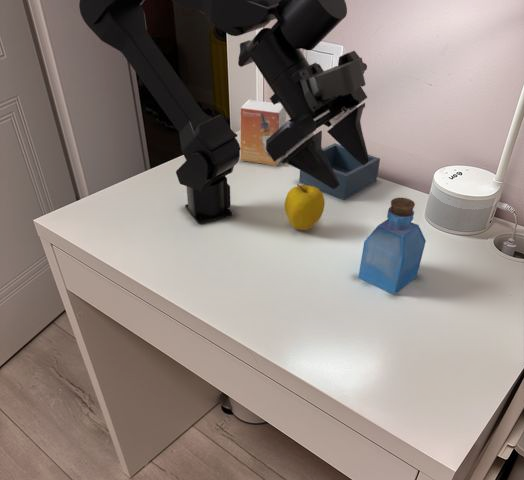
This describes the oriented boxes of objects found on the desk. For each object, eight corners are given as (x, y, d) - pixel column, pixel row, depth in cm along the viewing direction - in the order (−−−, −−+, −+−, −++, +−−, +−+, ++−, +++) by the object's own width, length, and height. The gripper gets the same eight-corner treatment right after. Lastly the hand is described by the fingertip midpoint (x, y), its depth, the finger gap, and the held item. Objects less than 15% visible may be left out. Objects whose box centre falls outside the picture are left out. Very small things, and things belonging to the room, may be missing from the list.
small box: (239, 161, 109) (239, 107, 102) (248, 150, 113) (248, 98, 106) (277, 166, 108) (279, 112, 100) (284, 155, 111) (287, 102, 104)
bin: (344, 200, 97) (347, 176, 94) (299, 182, 102) (300, 158, 99) (376, 181, 103) (380, 158, 100) (332, 165, 108) (334, 142, 105)
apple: (275, 228, 90) (277, 183, 84) (300, 214, 93) (303, 170, 88) (305, 242, 86) (308, 196, 81) (329, 228, 90) (334, 183, 84)
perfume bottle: (416, 277, 80) (435, 202, 71) (393, 295, 76) (410, 219, 68) (381, 261, 83) (395, 188, 75) (358, 277, 79) (370, 203, 71)
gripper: (291, 47, 59) (367, 169, 62) (364, 17, 70) (425, 121, 74) (234, 107, 67) (303, 211, 70) (307, 71, 79) (364, 163, 82)
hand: (352, 174), depth 74 cm, fingers open, 9 cm apart
